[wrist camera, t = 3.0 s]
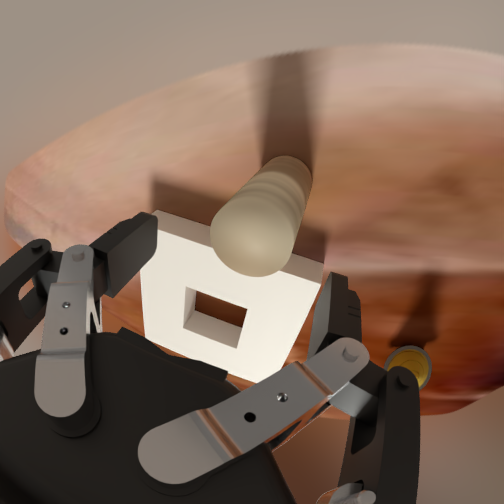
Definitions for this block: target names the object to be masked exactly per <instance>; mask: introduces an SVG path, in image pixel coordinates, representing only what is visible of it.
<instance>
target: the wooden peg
mask: <svg viewBox="0 0 504 504" xmlns="http://www.w3.org/2000/svg"><path fill="white" fill-rule="evenodd" d="M311 187H312V176H311V173H310V171H309V169H308V167H307V166H306V165H305V164H304V163H303V162H302V161H301V160H299V159H297V158H295V157H292V156H287V155H284V156H278V157H275V158H273V159H271V160H270V161H269V162H267V163H266V164H265V165H264V166H263V167H262V168H261V169H260V170H259V171H258V172H257V173H256V174H255V175H254V176H253V177H252V178H251V179H250V180H249V181H248V182H247V183H246V184H245V185H244V186H243V187H242V188H241V189H240V190H239V191H238V192H237V193H236V194H235V195H234V196H233V197H232V198H231V199H230V200H229V201H228V202H227V203H226V204H225V205H224V206H223V207H222V208H221V209H220V210H219V211H218V212H217V214H216V215H215V216H214V218H213V220H212V223H211V227H210V240H211V244H212V247H213V249H214V251H215V253H216V255H217V256H218V258H219V259H220V260H221V261H222V262H223V263H224V264H225V265H226V266H227V267H229V268H230V269H232V270H233V271H235V272H237V273H239V274H242V275H245V276H250V277H264V276H268V275H272V274H274V273H276V272H277V271H279V270H280V269H282V268H283V267H284V266H285V264H286V263H287V262H288V260H289V258H290V256H291V253H292V250H293V246H294V243H295V240H296V237H297V234H298V231H299V227H300V224H301V221H302V218H303V214H304V211H305V208H306V204H307V201H308V198H309V194H310V191H311Z"/></svg>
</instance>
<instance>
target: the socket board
mask: <svg viewBox="0 0 504 504" xmlns="http://www.w3.org/2000/svg"><path fill="white" fill-rule="evenodd" d="M152 215H155V216H157V218H158V235H157V249H156V252H155V254H154V256H153V257H152V258H151V259H150V260H149V261H148V262H147V263H146V264H145V265H144V266H143V267H142V268H141V269H140V273H141V291H142V305H143V317H144V328H145V337H146V338H147V339H148V340H150V341H152V342H155V343H157V344H159V345H161V346H163V347H166V348H168V349H170V350H172V351H175V352H177V353H179V354H182V355H184V356H186V357H189V358H191V359H194V360H200V361H202V362H205V363H208V364H210V365H213V366H216V367H219V368H221V369H224V370H227V371H228V373H230V374H232V375H235V376H238V377H241V378H244V379H246V380H249V381H252V382H255V383H258V382H260V381H262V380H264V379H265V378H267V377H269V376H271V375H272V374H274V373H276V372H278V371H279V370H280V369H281V367H282V366H283V364H284V362H285V360H286V358H287V356H288V354H289V352H290V350H291V348H292V346H293V344H294V342H295V340H296V338H297V336H298V333H299V331H300V329H301V327H302V325H303V323H304V321H305V319H306V317H307V315H308V312H309V310H310V308H311V306H312V304H313V302H314V299H315V297H316V295H317V293H318V290H319V288H320V286H321V282H322V275H323V267H324V264H323V263H320V262H317V261H314V260H311V259H308V258H305V257H302V256H299V255H296V254H293V253H291V256H290V258H289V260H288V262H287V263H286V264H285V266H284V267H283V268H282V269H280V270H279V271H277V272H276V273H274V274H272V275H268V276H264V277H250V276H245V275H242V274H239V273H237V272H235V271H233V270H232V269H230V268H229V267H227V266H226V265H225V264H224V263H223V262H222V261H221V260H220V259H219V258H218V256H217V255H216V253H215V251H214V249H213V247H212V244H211V240H210V226H207V225H204V224H201V223H198V222H195V221H191V220H188V219H185V218H182V217H179V216H176V215H173V214H169V213H166V212H163V211H160V210H156V211H155V212H153V213H152ZM196 291H200V292H202V293H205V294H208V295H210V296H213V297H216V298H219V299H221V300H224V301H227V302H230V303H232V304H235V305H238V306H241V307H244V308H246V309H247V313H246V317H245V320H244V324H243V328H241V327H238V326H235V325H233V324H230V323H227V322H224V321H222V320H219V319H216V318H214V317H211V316H208V315H206V314H203V313H201V312H198V311H195V301H196Z"/></svg>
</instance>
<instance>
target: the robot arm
mask: <svg viewBox="0 0 504 504" xmlns="http://www.w3.org/2000/svg"><path fill="white" fill-rule="evenodd" d="M157 235H158V218H157V216H155V215H152V214H149V213H145V212H140V213H139V214H137V215H136V216H135V217H133V218H132V219H127V220H124V221H122V222H119V223H118V224H117V225H115V226H114V227H113V229H112V228H111V229H110V230H109V231H107V233H105V234H103V235H102V236H101V237H99V238H98V239H97V240H95V241H94V242H93V243H91V244H90V245H89V246H87V245H74V246H71V247H69V248H68V249H66V250H65V251H64V252H57V251H52V248H51V243H50V241H48V240H46V239H36V240H33V241H31V242H29V243H28V244H27V245H25V246H24V247H23V248H22V249H20V250H19V251H18V252H17V253H15V254H14V255H13V256H12V257H11V258H9V259H8V260H7V261H6V262H5V263H3V264H2V265H1V266H0V504H297V503H296V501H295V499H294V497H293V495H292V493H291V491H290V489H289V487H288V485H287V483H286V481H285V479H284V477H283V475H282V472H281V470H280V468H279V466H278V464H277V462H276V460H275V458H274V456H273V453H272V452H273V451H274V450H275V449H277V448H278V447H280V446H281V445H283V444H284V443H285V442H287V441H288V440H289V439H291V438H292V437H293V436H294V435H295V434H297V433H298V432H299V431H300V430H301V429H303V428H304V427H305V426H307V425H308V424H309V423H311V422H312V421H313V420H314V419H316V418H317V417H318V416H319V415H321V414H322V413H323V412H324V411H326V410H327V409H328V408H329V407H330V406H332V405H333V406H335V407H336V408H338V409H340V410H342V411H343V412H345V413H347V414H349V415H351V417H350V425H349V430H348V436H347V442H346V448H345V454H344V458H343V464H342V468H341V473H340V477H339V482H338V486H337V488H336V489H333V490H331V491H328V492H326V493H325V494H323V495H322V496H321V497H320V498H319V500H318V501H317V503H316V504H416V497H417V489H418V477H419V461H420V399H419V384H418V380H417V378H416V376H415V375H414V374H413V373H412V372H411V371H410V370H409V369H407V368H405V367H402V366H395V367H392V368H391V369H390V370H389V371H386V370H384V369H383V368H381V367H379V366H377V365H376V364H374V363H373V362H371V361H370V360H369V353H368V351H367V349H366V348H365V346H364V345H363V344H362V333H361V311H360V310H361V307H360V299H359V298H358V296H357V294H356V292H355V291H352V290H349V289H348V277H347V276H343V275H340V274H337V273H334V272H330V274H329V276H328V278H327V281H326V283H325V285H324V287H323V290H322V292H321V294H320V296H319V299H318V301H317V304H316V307H315V311H314V318H313V324H312V331H311V337H310V344H309V350H308V355H307V361H305V362H304V363H302V364H300V363H299V362H298V361H295V362H293V363H291V364H289V365H288V366H286V367H284V368H283V369H281V370H279V371H278V372H276V373H274V374H272V375H271V376H269V377H267V378H265V379H264V380H262V381H260V382H258V383H257V384H255V385H253V386H251V387H249V388H247V389H246V390H244V391H242V392H241V391H240V390H239V389H238V388H237V387H236V386H235V385H234V384H232V383H231V382H230V381H228V380H226V378H227V374H228V371H227V370H224V369H221V368H219V367H216V366H213V365H210V364H208V363H205V362H202V361H200V360H194V359H188V358H182V357H176V356H171V355H168V354H166V353H165V352H164V351H162V350H161V349H160V348H158V347H157V346H156V345H154V344H153V343H152V342H151V341H149V340H148V339H147V338H145V337H143V336H141V335H139V334H137V333H134V332H132V331H130V330H128V329H126V328H124V327H122V328H121V329H120V330H119V332H118V333H111V332H102V302H101V296H102V295H103V294H105V295H107V296H109V297H112V298H114V297H115V295H116V294H117V293H118V292H119V291H120V290H121V289H122V288H123V287H124V286H125V285H126V284H127V283H128V282H129V281H130V280H131V279H132V278H133V276H134V275H135V274H136V273H137V272H138V271H139V270H140V269H141V268H142V267H143V266H144V265H145V264H146V263H147V262H148V261H149V260H150V259H151V258H152V257H153V256H154V254H155V252H156V249H157ZM31 278H32V281H33V285H34V287H33V288H32V289H31V290H30V291H29V292H28V293H27V294H26V295H25V296H24V297H23V298H22V299H21V300H19V297H18V294H19V291H20V289H21V287H22V286H23V285H24V284H25V283H26V282H28V281H29V280H30V279H31ZM44 317H45V321H44V328H43V336H42V346H41V349H39V350H36V351H32V352H29V353H26V354H22V355H19V356H16V357H13V354H14V352H15V351H16V349H18V347H19V346H20V345H21V344H22V342H23V341H24V340H25V339H26V338H27V336H28V335H29V334H30V333H31V332H32V330H33V329H34V328H35V327H36V326H37V325H38V324H39V322H40V321H41V320H42V319H43V318H44Z"/></svg>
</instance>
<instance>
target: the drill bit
mask: <svg viewBox="0 0 504 504" xmlns="http://www.w3.org/2000/svg"><path fill="white" fill-rule="evenodd" d="M395 366H402V367H405V368H407V369H409V370H410V371H411V372H412V373H413V374H414V375H415V376H416V378H417V380H418V384H419V391H420V390H421V389H422V388H423V387H424V386H425V385H426V383H427V382H428V380H429V378H430V375H431V371H432V365H431V360H430V357H429V356H428V354H427V353H426V352H425V351H424V350H423V349H421V348H419V347H417V346H403V347H400V348H398V349H396V350H395V351H394V352H392V354H391V355H390V356H389V357H388V358H387V360H386V362H385V365H384V370H386V371H389V370H390V369H391V368H392V367H395Z"/></svg>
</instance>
